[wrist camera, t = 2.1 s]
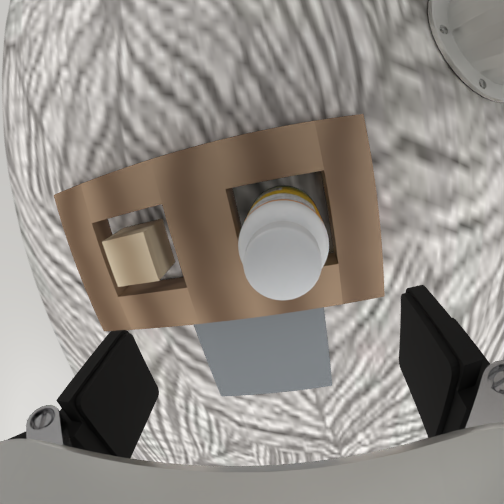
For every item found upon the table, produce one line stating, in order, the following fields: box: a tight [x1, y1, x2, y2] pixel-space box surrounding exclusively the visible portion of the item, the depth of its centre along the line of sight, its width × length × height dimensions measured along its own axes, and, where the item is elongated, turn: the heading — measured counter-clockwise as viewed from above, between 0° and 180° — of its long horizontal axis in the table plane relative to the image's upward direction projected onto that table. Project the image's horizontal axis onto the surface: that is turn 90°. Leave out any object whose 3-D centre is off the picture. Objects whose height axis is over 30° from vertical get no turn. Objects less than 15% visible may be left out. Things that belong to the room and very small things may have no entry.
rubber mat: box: [194, 307, 332, 396], centre depth 29 cm, size 12×10×1 cm
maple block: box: [102, 219, 175, 287], centre depth 25 cm, size 4×4×4 cm
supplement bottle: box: [238, 186, 329, 300], centre depth 20 cm, size 5×5×10 cm
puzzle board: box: [54, 114, 384, 331], centre depth 24 cm, size 26×14×2 cm, turn 102°
